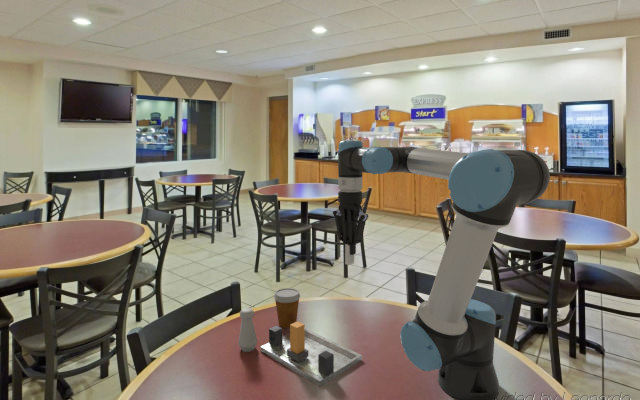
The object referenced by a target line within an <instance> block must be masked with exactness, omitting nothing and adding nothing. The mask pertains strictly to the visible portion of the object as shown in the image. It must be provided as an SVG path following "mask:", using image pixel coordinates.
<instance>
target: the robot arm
mask: <svg viewBox="0 0 640 400" xmlns="http://www.w3.org/2000/svg"><path fill="white" fill-rule="evenodd" d="M337 166H338V167H337V169H338V170H337V172H338V173H337V175H338V176H337V177H338V179H337V181H338V182H337V183H338V185H337V186H338V187H337V188H338V193H337V202H338V203H339V205H338V208H337V209H336V210H332V215H333V217H334V220H335V226H336V231H337V238H338V241H340V242H342V243H343V252H344V260H345V261H344V264H345V265H347V266H350V265H353V264H355V255H356V253H357V247H356V246H357V245H358V244H360V243H362V241H363V235H364V231H365V226H366V222H367V220H368V219H369V214H368V213H364V212H363V208H362V203H363V191H362V190H363V173H365V174H372V175H383V174H387V173H408V174H414V175H419V176H427V177H431V178H437V179H442V180H447V181H448V182H447V188H448V190H449V191H450V192H449V196H450V198H451V200H452V204H451V209H452V210H453V212H454V213H455V219H454V222H453V224H452V227H451V230H450V232H449V233H450V234H449V236H448V238H447V243H446V245H445V248H444V251H443V254H442V257H441V260H440V262H439V266H438V269H437V272H436V275H435V277H434V278H435V279H434V281H433V284H432V288H431V290H430V293H429V296H428V297H427V298H428V299H427V300H425V301H422V302H421V303H420V304H419V306H418V307H417V311H416V313H415V317H414V319H413V320H412V321H411V320H410V321H406V323H404V324H403V325H402V327H401V329H400V335H399V336H400V344H401V347H402V348H403V351H404V353H405V356H406V357H407V359H408V360H409V361H410V363H412V365H414V366H415V367H416V368H417V369H419V370H420V371H424V372H431V371H435V370H438V371H437V372H438V374H437V381H438V385H439V386H440V388H441V389H442V390H443V391H444V392H445V393H447V394H448V395H450V396H451V397H453V398H455V399H458V400H496V398H498V396H499V392H500V391H499V390H500V382H499V379H498V375H497V372H496V369H495V365H494V353H495V352H494V351H495V338H496V337H495V336H496V325H497V321H496V311H495V309H494V308H493V307H492V306H491V305H489V304H487V303H485V302H482V301H479V300H477V299H473V298H472V296H473V294H474V292H475V289H476V286H477V284H478V282H479V279H480V277H481V274H482V271H483V268H484V266H485V265H486V262H487V258H488V256H489V254H490V251H491V248H492V246H493V244H494V240H495V239H496V235H497V233H498V231H499V229H502V228H504V227H508V226H509V225H510V223H511V220H512V218H513V215H514V213H515V211H516V208H517V207H518V206H522V205H527V204H530V203H533V202H534V201H536V200H538V199H539V198H541V197H542V195H544V194H545V192H546V191H547V189H548V187H549V185H550V184H549V183H550V179H551V175H550V168H549V166H548V164H547V163H546V162H545V160H544V159H543V158H542V157H541V156H540V155H539V154H537V153H535V152H532V151H530V150H525V149H491V148H490V149H488V148H487V149H481V150H476V151H472V152H460V151H452V150H451V151H449V150H440V149H428V148H420V147H417V146H416V147H415V146H376V145H375V146H365V147H364V144H363V141H361V140H341V141H340V142H339V143H338V152H337Z"/></svg>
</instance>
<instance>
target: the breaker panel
mask: <svg viewBox="0 0 640 400" xmlns="http://www.w3.org/2000/svg"><path fill="white" fill-rule="evenodd" d="M289 348H290V332H289V333H287V334H285V335H283V327H280V326H279V325H274V326H272V327H269V328H268V342H267V343H265V344H263V345H261V346H260V351H261V352H262V353H263V354H266V355H267V356H268V357H270V358H272V359H273V360H275V361H277V362H278V363H280V364H282V365H283V366H285V367H286V368H289V369H290V370H292V371H293V372H295V373H297V374H298V375H300V376H302V378H303V377H304V378H305V379H306V380H308V381H310V382H311V383H313V384H315V385H317V386H318V387H322V386H323V385H324V384H326V383H328V382H330V381H332V380H333V379H334V378H336V377H338V376H339V375H340V374H342V373H344V372H345V371H346V370H348V369H350V368H352V367H353V366H355V365H356V364H358V363H360V362H361V361H362V359H363V355H362V354H359V353H358V352H355V351H353V350H352V349H349V348H348V347H345V346H343V345H341V344H339V343H337V342H335V341H334V340H330V339H329V338H326V337H323V336H322V335H320V334H318V333H315V332H314V331H311V330H309V329H307V328H305V349H306V350H308V357H307V358H305V359H303V360H301V361H299V362H297V361H296V360H294V359H292V358H290V357H289V356H287V349H289Z"/></svg>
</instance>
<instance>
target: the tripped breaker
mask: <svg viewBox="0 0 640 400" xmlns="http://www.w3.org/2000/svg"><path fill="white" fill-rule="evenodd" d="M305 329H306V327H305V324H304V323H302V322H301V321H298V320H297V321H296V322H295V323H293V324H290V328H289V333H290V348H289V349H287V356H289V357H290V358H292V359H294V360H296V361H297V362H299V361H301V360H303V359H305V358H307V357H308V350H306V349H305Z"/></svg>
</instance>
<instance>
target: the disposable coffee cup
mask: <svg viewBox="0 0 640 400" xmlns="http://www.w3.org/2000/svg"><path fill="white" fill-rule="evenodd" d="M273 298H274V301H275V306H276V314H277V321H278V327H280V328H282V329H290V324H293V323H295V322H297V321H298V312H299V311H298V309H299V302H300V298H301V294H300V291H299V290H298V289H296V288H291V287H289V288H288V287H287V288H286V287H284V288H280V289H278V290H275V292H274V295H273Z"/></svg>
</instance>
